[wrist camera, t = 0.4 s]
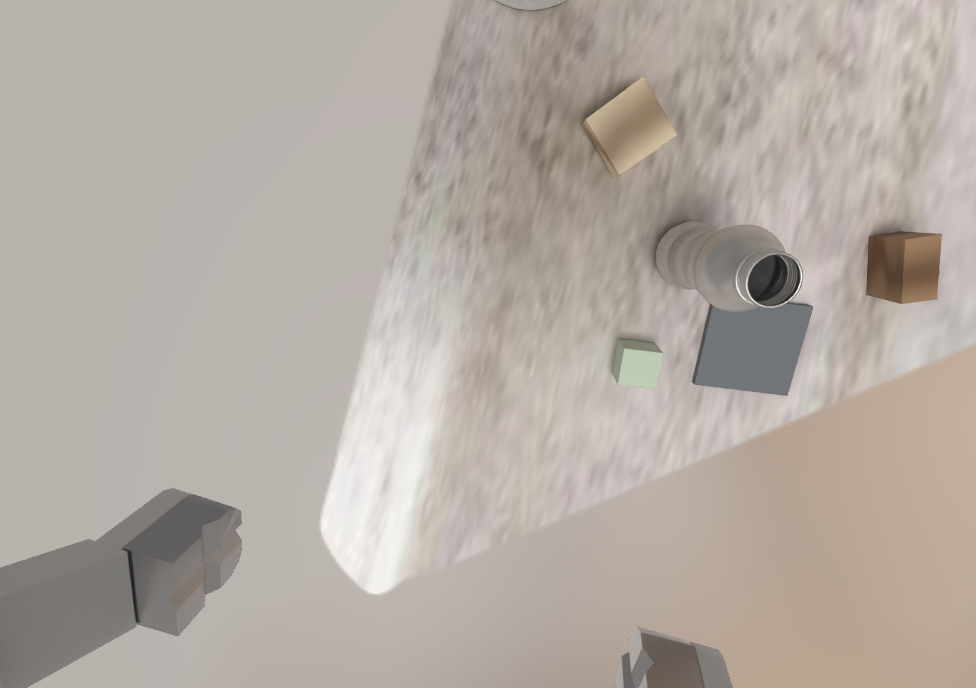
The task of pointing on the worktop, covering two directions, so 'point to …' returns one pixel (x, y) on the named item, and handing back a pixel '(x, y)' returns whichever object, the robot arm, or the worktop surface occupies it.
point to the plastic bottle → (729, 265)
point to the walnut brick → (904, 266)
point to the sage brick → (637, 363)
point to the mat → (752, 348)
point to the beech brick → (628, 128)
